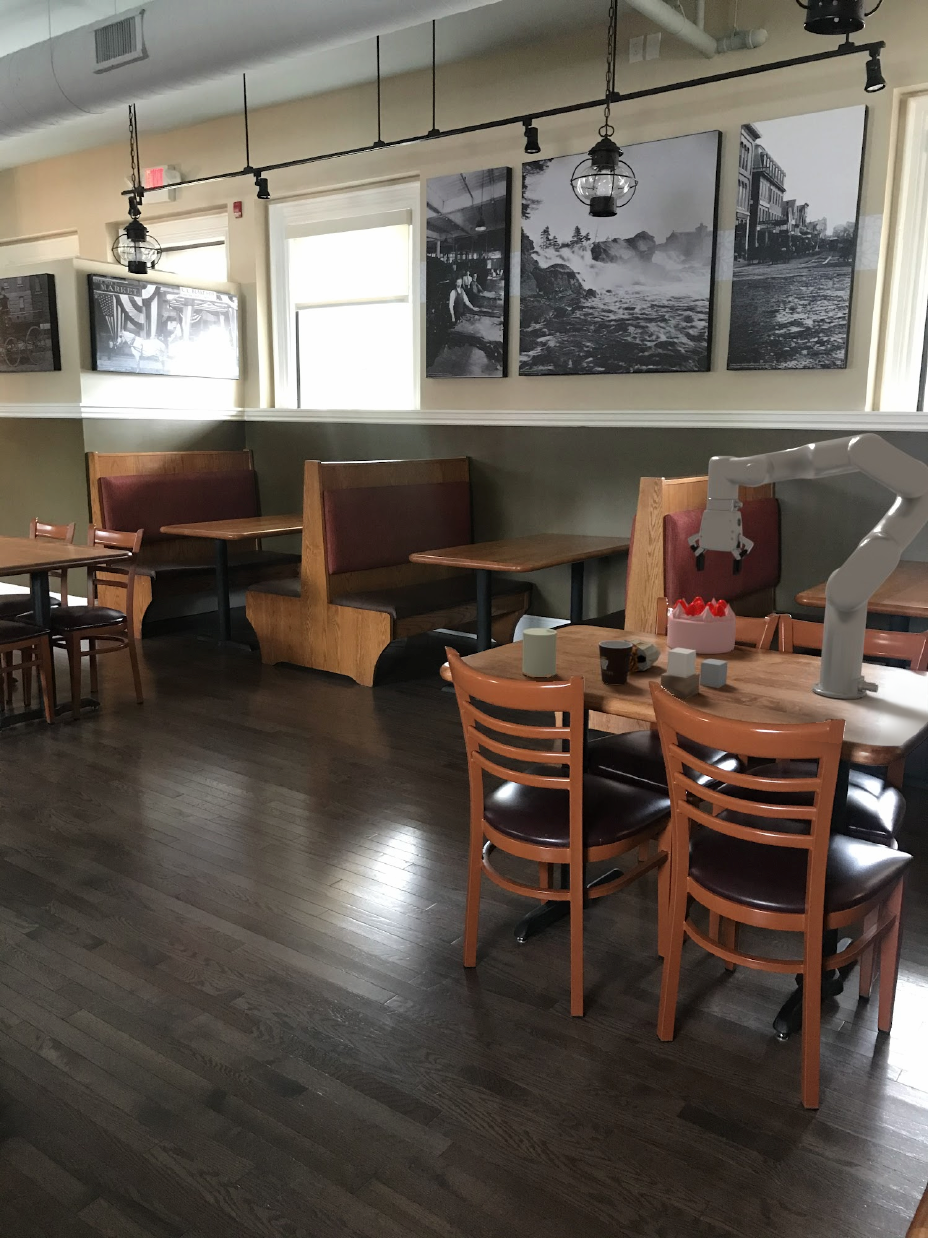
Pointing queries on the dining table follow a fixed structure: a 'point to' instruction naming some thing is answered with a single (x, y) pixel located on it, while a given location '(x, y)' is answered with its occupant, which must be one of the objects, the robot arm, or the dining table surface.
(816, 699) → the dining table surface
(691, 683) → the metal block
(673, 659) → the ceramic block
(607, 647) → the coffee mug
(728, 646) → the cake
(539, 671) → the can
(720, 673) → the grey block
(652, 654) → the nautilus
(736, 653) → the dining table surface
